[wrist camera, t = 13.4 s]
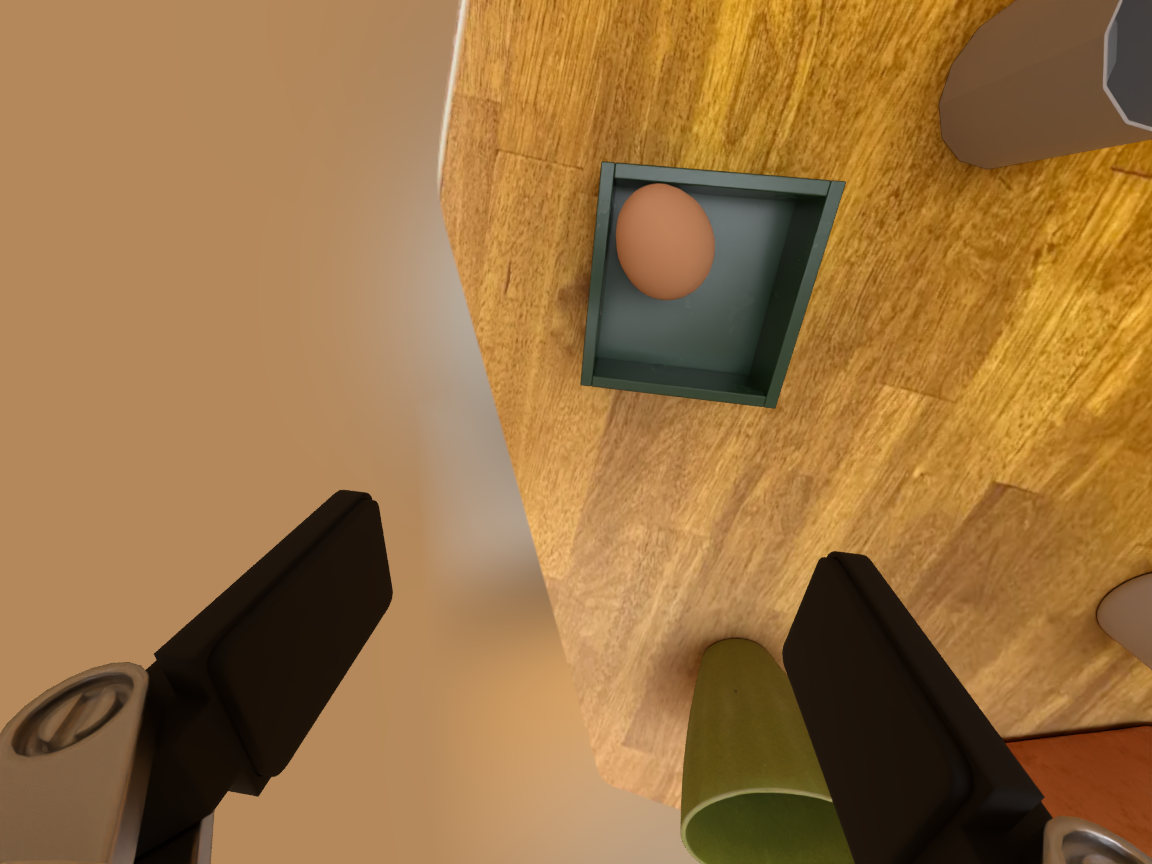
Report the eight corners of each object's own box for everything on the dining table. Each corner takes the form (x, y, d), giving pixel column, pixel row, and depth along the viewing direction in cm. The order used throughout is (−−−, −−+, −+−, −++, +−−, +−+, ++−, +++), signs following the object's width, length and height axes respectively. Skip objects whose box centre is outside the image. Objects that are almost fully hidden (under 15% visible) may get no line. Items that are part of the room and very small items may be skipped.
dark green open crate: (587, 363, 35) (580, 385, 30) (606, 173, 29) (601, 160, 24) (754, 383, 34) (775, 409, 29) (808, 190, 28) (846, 181, 23)
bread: (1167, 788, 48) (1392, 1020, 34) (910, 810, 55) (1006, 1009, 41) (1172, 713, 43) (1435, 946, 29) (891, 748, 51) (992, 948, 37)
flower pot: (664, 697, 52) (677, 876, 37) (668, 608, 46) (685, 781, 31) (794, 707, 50) (860, 900, 35) (816, 616, 44) (907, 804, 29)
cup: (1147, 15, 23) (1474, -123, 14) (1037, 184, 27) (1242, 158, 18) (1000, -29, 23) (1235, -196, 14) (909, 145, 27) (1051, 101, 18)
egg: (700, 228, 30) (663, 131, 23) (741, 284, 28) (714, 195, 21) (632, 278, 32) (578, 203, 25) (665, 334, 30) (615, 268, 23)
